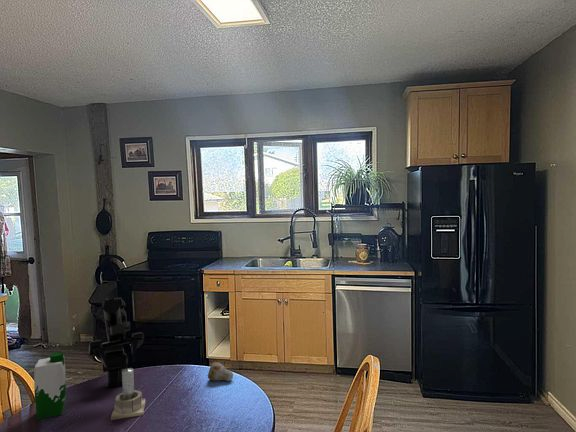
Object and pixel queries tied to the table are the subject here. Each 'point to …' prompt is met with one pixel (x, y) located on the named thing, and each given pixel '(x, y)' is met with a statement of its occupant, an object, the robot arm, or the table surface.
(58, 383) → the milk carton
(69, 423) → the table surface
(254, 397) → the table surface
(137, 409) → the cup bracket
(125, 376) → the grey glossy cylinder
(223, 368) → the flower patterned bottle
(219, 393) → the table surface
